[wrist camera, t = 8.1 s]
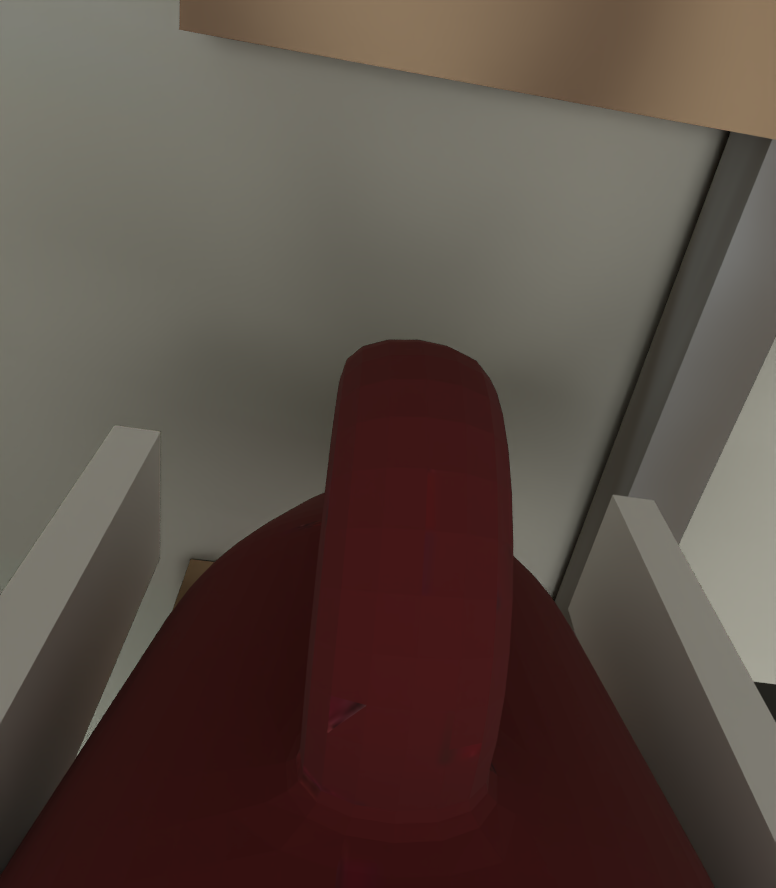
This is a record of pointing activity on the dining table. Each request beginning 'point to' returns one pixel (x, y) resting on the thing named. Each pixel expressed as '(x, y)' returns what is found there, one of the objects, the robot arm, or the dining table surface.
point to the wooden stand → (629, 90)
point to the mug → (368, 691)
